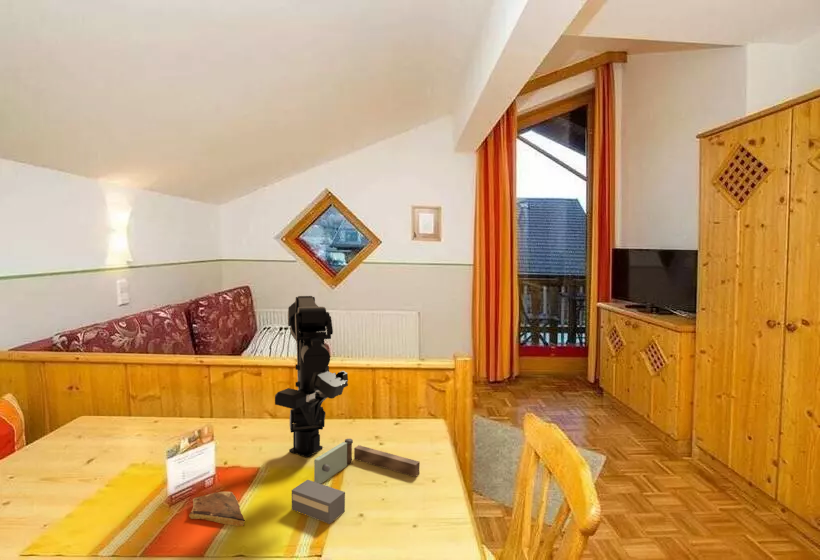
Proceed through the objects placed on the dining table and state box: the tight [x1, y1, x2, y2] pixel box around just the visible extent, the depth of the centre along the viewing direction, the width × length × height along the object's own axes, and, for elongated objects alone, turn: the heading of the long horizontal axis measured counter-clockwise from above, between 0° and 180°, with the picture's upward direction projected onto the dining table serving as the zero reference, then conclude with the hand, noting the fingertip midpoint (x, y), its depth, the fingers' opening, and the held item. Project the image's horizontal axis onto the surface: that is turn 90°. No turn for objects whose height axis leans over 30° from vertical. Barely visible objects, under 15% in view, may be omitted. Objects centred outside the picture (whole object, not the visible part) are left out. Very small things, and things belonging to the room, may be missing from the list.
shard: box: [188, 491, 246, 527], centre depth 95 cm, size 13×9×2 cm
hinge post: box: [344, 438, 354, 466], centre depth 119 cm, size 2×2×6 cm
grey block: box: [291, 479, 346, 525], centre depth 98 cm, size 10×5×4 cm, turn 62°
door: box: [313, 441, 348, 484], centre depth 112 cm, size 11×2×6 cm, turn 151°
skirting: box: [353, 444, 420, 478], centre depth 118 cm, size 18×2×3 cm, turn 61°
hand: (311, 425), depth 111 cm, fingers closed
